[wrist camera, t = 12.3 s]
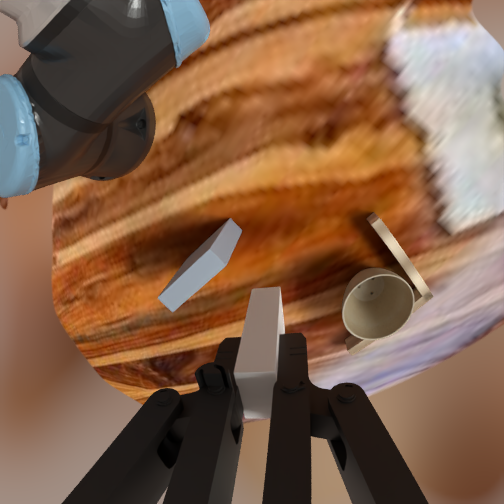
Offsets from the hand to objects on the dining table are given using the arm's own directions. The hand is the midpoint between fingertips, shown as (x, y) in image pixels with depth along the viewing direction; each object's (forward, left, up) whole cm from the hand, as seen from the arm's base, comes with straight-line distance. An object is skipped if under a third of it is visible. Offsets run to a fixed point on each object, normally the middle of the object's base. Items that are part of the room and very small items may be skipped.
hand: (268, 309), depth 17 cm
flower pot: (+17, +2, -27) cm, 32 cm away
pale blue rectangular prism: (-2, -11, -26) cm, 28 cm away
